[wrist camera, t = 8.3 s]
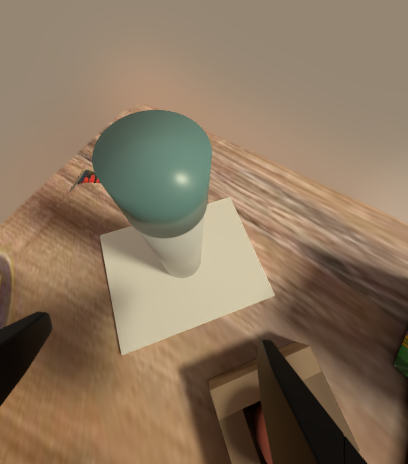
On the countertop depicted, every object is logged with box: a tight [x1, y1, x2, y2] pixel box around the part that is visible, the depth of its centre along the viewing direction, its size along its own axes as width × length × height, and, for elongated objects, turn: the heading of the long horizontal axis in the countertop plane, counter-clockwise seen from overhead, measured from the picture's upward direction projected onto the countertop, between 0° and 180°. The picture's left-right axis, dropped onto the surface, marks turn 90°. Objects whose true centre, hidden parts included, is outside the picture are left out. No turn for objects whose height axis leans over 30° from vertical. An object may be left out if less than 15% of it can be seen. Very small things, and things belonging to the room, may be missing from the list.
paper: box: [100, 197, 275, 355], centre depth 20 cm, size 14×11×1 cm
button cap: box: [254, 402, 273, 464], centre depth 13 cm, size 4×4×4 cm
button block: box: [208, 342, 364, 464], centre depth 14 cm, size 8×8×2 cm
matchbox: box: [70, 169, 101, 203], centre depth 23 cm, size 5×5×1 cm
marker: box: [92, 110, 212, 278], centre depth 13 cm, size 4×4×14 cm
